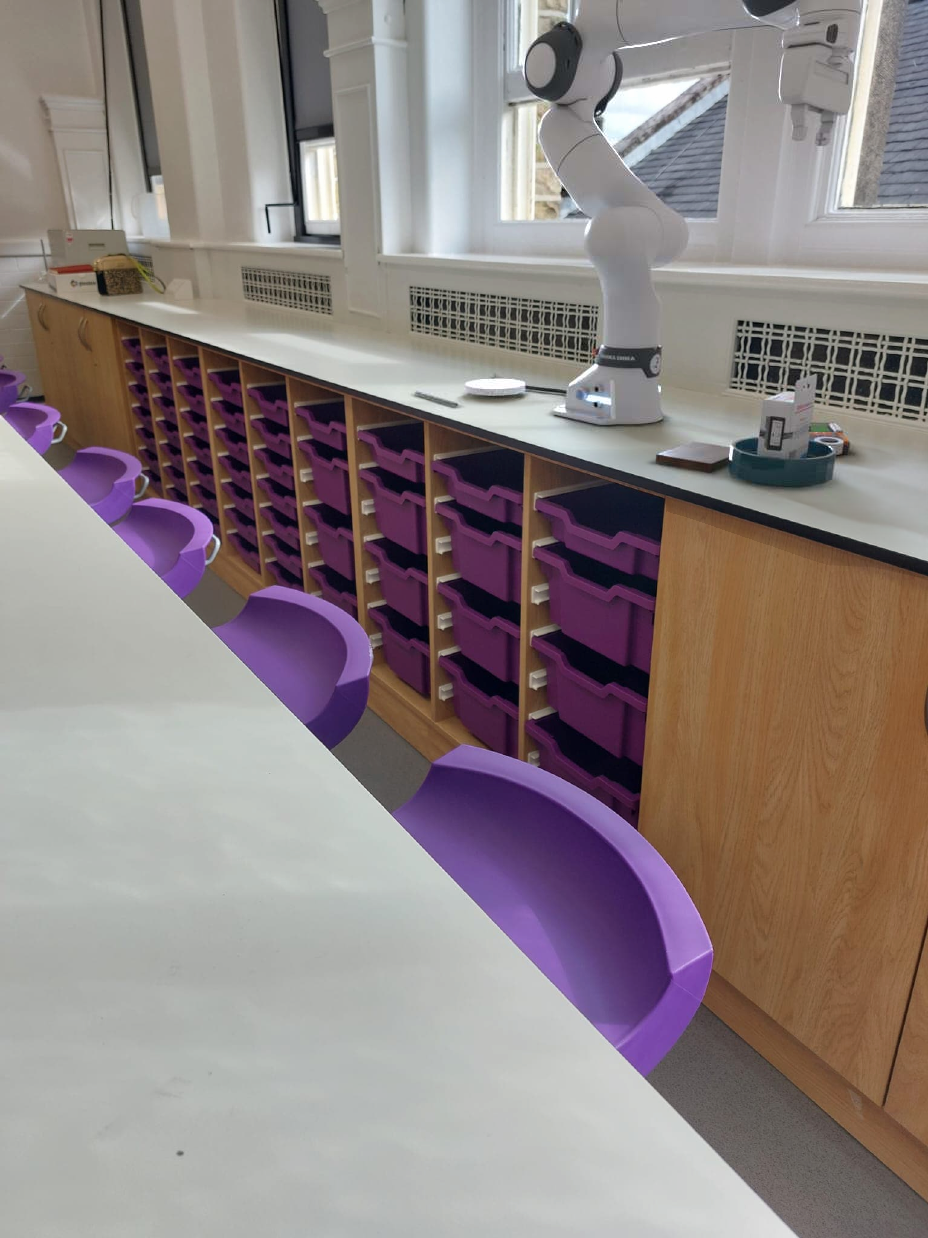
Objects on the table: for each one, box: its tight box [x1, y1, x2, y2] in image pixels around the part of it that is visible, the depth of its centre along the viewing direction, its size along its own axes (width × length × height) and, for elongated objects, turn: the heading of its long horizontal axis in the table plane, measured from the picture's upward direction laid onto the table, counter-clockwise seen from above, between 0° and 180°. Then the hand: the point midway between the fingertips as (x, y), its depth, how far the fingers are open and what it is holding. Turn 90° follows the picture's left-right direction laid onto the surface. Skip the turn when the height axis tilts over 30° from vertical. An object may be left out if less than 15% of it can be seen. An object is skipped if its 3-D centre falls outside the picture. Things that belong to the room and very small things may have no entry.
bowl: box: [727, 436, 837, 489], centre depth 135 cm, size 15×15×4 cm
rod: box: [414, 390, 459, 407], centre depth 199 cm, size 1×19×1 cm, turn 31°
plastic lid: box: [464, 378, 526, 397], centre depth 204 cm, size 14×14×2 cm
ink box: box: [757, 373, 818, 459], centre depth 132 cm, size 8×5×15 cm, turn 140°
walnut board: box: [655, 441, 731, 474], centre depth 145 cm, size 10×12×2 cm
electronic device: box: [809, 421, 851, 456], centre depth 152 cm, size 7×3×15 cm
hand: (810, 142), depth 138 cm, fingers open, 8 cm apart
